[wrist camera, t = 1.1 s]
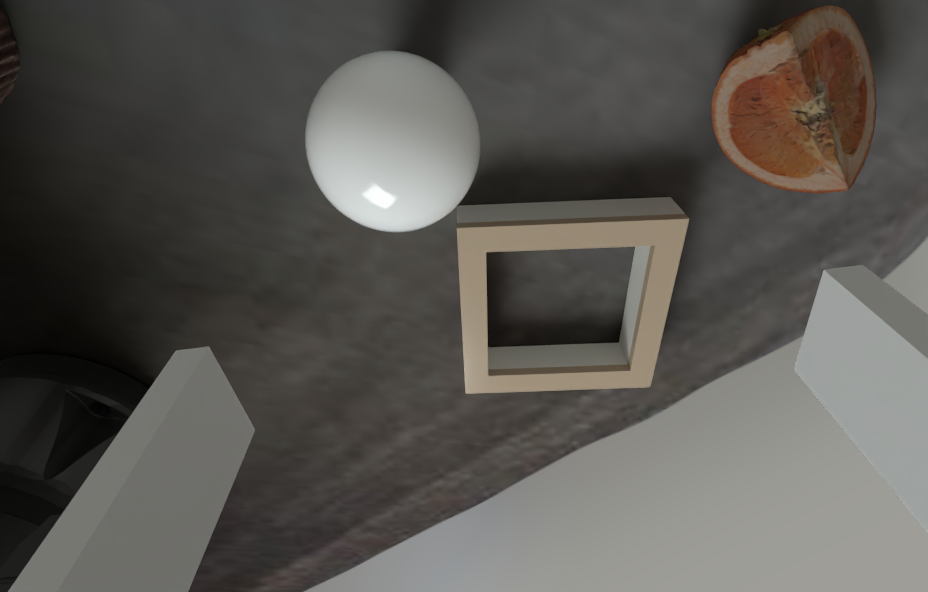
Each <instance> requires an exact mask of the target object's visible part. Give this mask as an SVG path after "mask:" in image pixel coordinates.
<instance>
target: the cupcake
mask: <svg viewBox="0 0 928 592" xmlns="http://www.w3.org/2000/svg"><path fill="white" fill-rule="evenodd" d="M16 46H17V41H16V39H15V37H14V35H13V33H12V30H11V27H10V23H9V20H8V17H7V15H6V14H5V13H4V11H3V10H2V9H1V7H0V103H2V102H3V100H4V98H5V97H6V96H7V95H8V94H10V92H11V91H12V89H13V87H14V85H15V80H16V79H17V78H18V77H19V72H18V71H19V69H20V66H21V65H20V62H19V52H18V50H17V47H16Z"/></svg>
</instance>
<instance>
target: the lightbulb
mask: <svg viewBox="0 0 928 592" xmlns="http://www.w3.org/2000/svg"><path fill="white" fill-rule="evenodd" d="M305 148H306V155H307V160H308V163H309V167H310V170H311V172H312V175H313V177H314V179H315V181H316V183H317V185H318V187H319V188H320V190H321V191H322V193H323V194H324V196H325V197H326V198H327V199H328V200H329V202H330V203H331V204H332V205H333V206H334V207H335V208H336V209H337V210H339V211H340V212H341V213H342V214H344V215H345V216H346V217H348V218H349V219H351V220H353V221H355V222H357V223H359V224H361V225H363V226H366V227H368V228H371V229H375V230H379V231H385V232H407V231H413V230H417V229H421V228H424V227H426V226H429V225H431V224H433V223H435V222H437V221H439V220H440V219H442V218H443V217H445V216H446V215H447V214H449V213H450V212H451V211H452V210H453V209H454V208H455V207H456V206H457V205H458V204H459V203H460V202H461V200H462V199H463V198H464V196H465V195H466V193H467V192H468V190H469V188H470V187H471V185H472V183H473V180H474V178H475V175H476V172H477V169H478V165H479V159H480V150H481V140H480V131H479V125H478V121H477V117H476V114H475V112H474V109H473V107H472V104H471V102H470V100H469V98H468V97H467V95H466V93H465V92H464V90H463V89H462V88H461V86H460V85H459V84H458V83H457V81H456V80H455V79H454V78H453V77H452V76H451V75H450V74H449V73H447V72H446V71H445V70H444V69H442V68H441V67H440V66H438V65H437V64H435V63H433V62H432V61H430V60H428V59H426V58H423V57H421V56H418V55H415V54H412V53H408V52H403V51H392V50H386V51H376V52H371V53H367V54H364V55H361V56H358V57H356V58H354V59H352V60H350V61H348V62H346V63H345V64H343V65H342V66H340V67H339V68H338V69H336V70H335V71H334V72H333V73H332V74H331V75H330V76H329V77H328V78H327V79H326V80H325V81H324V83H323V84H322V85H321V87H320V88H319V90H318V92H317V93H316V95H315V97H314V99H313V101H312V104H311V106H310V109H309V113H308V116H307V121H306V128H305Z"/></svg>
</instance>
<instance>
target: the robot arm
mask: <svg viewBox="0 0 928 592" xmlns="http://www.w3.org/2000/svg"><path fill="white" fill-rule="evenodd" d="M794 370H795V372H796V373H797V374H798V375H799V377H800V378H801V379H802V380H803V381H804V383H805V384H806V385H807V386H808V387H809V389H810V390H811V391H812V392H813V394H814V395H815V396H816V397H817V398H818V400H819V401H820V402H821V403H822V405H823V406H824V407H825V408H826V410H827V411H828V412H829V413H830V414H831V416H832V417H833V418H834V419H835V421H836V422H837V423H838V424H839V425H840V427H841V428H842V429H843V430H844V432H845V433H846V434H847V435H848V437H849V438H850V439H851V440H852V441H853V443H854V444H855V445H856V446H857V447H858V449H859V450H860V451H861V452H862V454H863V455H864V456H865V457H866V459H867V460H868V461H869V462H870V463H871V465H872V466H873V467H874V468H875V470H876V471H877V472H878V473H879V475H880V476H881V477H882V478H883V479H884V481H885V482H886V483H887V484H888V485H889V487H890V488H891V489H892V490H893V492H894V493H895V494H896V495H897V496H898V498H899V499H900V500H901V501H902V503H903V504H904V505H905V506H906V507H907V509H908V510H909V511H910V512H911V514H912V515H913V516H914V517H915V519H916V520H917V521H918V522H919V523H920V525H921V526H922V527H923V528H924V529H925V531H926V532H927V533H928V314H926V313H925V312H924V311H922V310H921V309H920V308H918V307H917V306H916V305H915V304H913V303H912V302H911V301H909V300H908V299H907V298H905V297H904V296H903V295H901V294H900V293H899V292H897V291H896V290H895V289H893V288H892V287H891V286H890V285H888V284H887V283H886V282H884V281H883V280H882V279H880V278H879V277H878V276H877V275H875V274H874V273H873V272H871V271H870V270H869V269H867V268H866V267H865V266H863V265H859V266H851V267H843V268H835V269H827V270H824V271H823V274H822V277H821V281H820V284H819V287H818V291H817V294H816V297H815V300H814V304H813V307H812V310H811V314H810V317H809V320H808V323H807V327H806V330H805V333H804V337H803V340H802V343H801V346H800V350H799V353H798V356H797V360H796V363H795V366H794ZM254 432H255V429H254V427H253V425H252V423H251V421H250V420H249V418H248V416H247V414H246V412H245V411H244V409H243V407H242V405H241V403H240V402H239V400H238V398H237V396H236V394H235V393H234V391H233V389H232V387H231V385H230V384H229V382H228V380H227V378H226V376H225V375H224V373H223V371H222V369H221V367H220V366H219V364H218V362H217V360H216V358H215V357H214V355H213V353H212V351H211V349H210V348H209V347H201V348H193V349H185V350H177V351H175V353H174V354H173V356H172V357H171V358H170V360H169V361H168V363H167V364H166V366H165V367H164V368H163V370H162V371H161V373H160V374H159V376H158V377H157V378H156V380H155V381H154V383H153V384H152V386H151V387H150V389H149V388H147V387H146V386H144V385H143V384H141V383H140V382H138V381H136V380H134V379H133V378H131V377H129V376H127V375H125V374H123V373H121V372H118V371H116V370H114V369H111V368H109V367H106V366H103V365H100V364H97V363H94V362H91V361H87V360H83V359H79V358H74V357H69V356H63V355H53V354H27V355H19V356H14V357H10V358H6V359H3V360H1V361H0V592H188V591H189V588H190V586H191V583H192V581H193V579H194V576H195V574H196V571H197V569H198V566H199V564H200V562H201V559H202V557H203V554H204V552H205V550H206V547H207V545H208V542H209V540H210V538H211V535H212V533H213V530H214V528H215V526H216V523H217V521H218V518H219V516H220V514H221V511H222V509H223V506H224V504H225V501H226V499H227V497H228V494H229V492H230V489H231V487H232V485H233V482H234V480H235V477H236V475H237V473H238V470H239V468H240V465H241V463H242V461H243V458H244V456H245V453H246V451H247V448H248V446H249V444H250V441H251V439H252V436H253V434H254Z"/></svg>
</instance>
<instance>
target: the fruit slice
mask: <svg viewBox="0 0 928 592" xmlns="http://www.w3.org/2000/svg"><path fill="white" fill-rule="evenodd" d="M758 34H759V36H758V37H756V38H754V39H753V40H752V41H751V42H750V43H749V44H747V45H744V46H743V47H741V48H740V49H739V50H737V51H736V52H735V53H734V54H733V55H732V56H731V57H730V58H729V60H728V61H727V63H726V65H725V67H724V69H723V71H722V73H721V75H720V78H719V80H718V83H717V85H716V87H715V90H714V94H713V99H712V122H713V129H714V132H715V135H716V138H717V141H718V143H719V145H720V147H721V149H722V151H723V152H724V154H725V155H726V156H727V157H728V159H729V160H730V161H731V162H732V163H733V164H735V165H736V166H737V167H738V168H740V169H741V170H742V171H744V172H745V173H747V174H748V175H750V176H752V177H754V178H755V179H757V180H759V181H761V182H763V183H765V184H767V185H770V186H773V187H776V188H779V189H784V190H789V191H798V192H808V193H827V192H839V191H845V190H849V189H850V187H851V186H852V185H853V184H854V182H855V180H856V177H857V176H858V174H859V172H860V171H861V169H862V167H863V165H864V162H865V160H866V157H867V155H868V152H869V149H870V145H871V141H872V137H873V133H874V126H875V119H876V106H877V105H876V88H875V79H874V72H873V68H872V64H871V60H870V57H869V53H868V50H867V48H866V45H865V42H864V40H863V37H862V35H861V33H860V31H859V29H858V28H857V26H856V24H855V21H854V20H853V19H852V17H851V16H850V15H849V14H848V12H846V11H845V10H844V9H842V8H840V7H839V6H838V7H835V6H830V5H827V6H822V7H816V8H814V9H811V10H808V11H805V12H803V13H801V14H799V15H797V16H795V17H792V18H789V19H787V20H785V21H784V22H782V23H780V24H779V25H777V26H775V27H772V28H769V29H768V30H765V29H759V31H758Z"/></svg>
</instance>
